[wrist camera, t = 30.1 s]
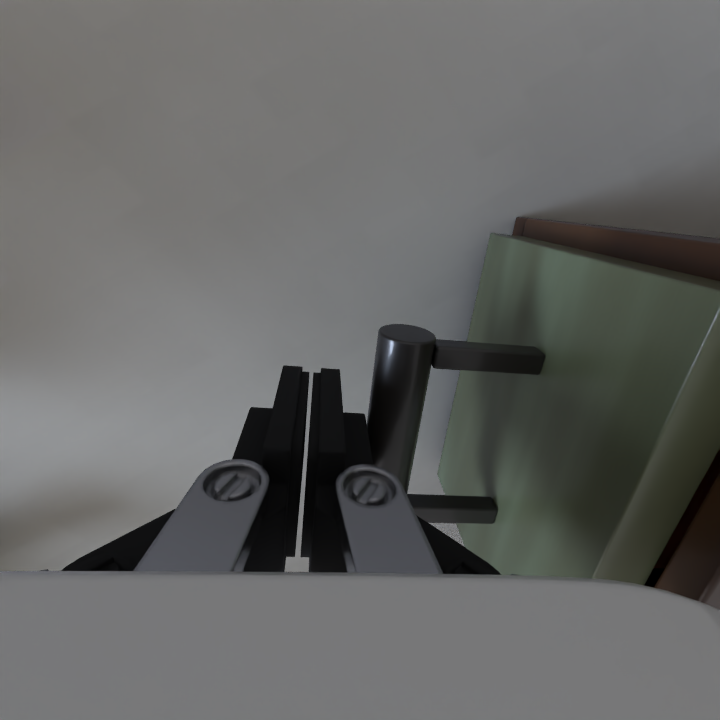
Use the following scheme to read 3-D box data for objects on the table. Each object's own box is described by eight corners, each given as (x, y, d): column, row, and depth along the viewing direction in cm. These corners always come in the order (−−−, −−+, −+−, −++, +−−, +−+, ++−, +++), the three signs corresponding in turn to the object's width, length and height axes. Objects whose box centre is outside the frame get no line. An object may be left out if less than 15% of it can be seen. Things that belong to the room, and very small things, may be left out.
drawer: (343, 470, 17) (355, 720, 9) (370, 220, 13) (433, 265, 5) (707, 483, 19) (988, 700, 11) (828, 267, 15) (1421, 357, 7)
